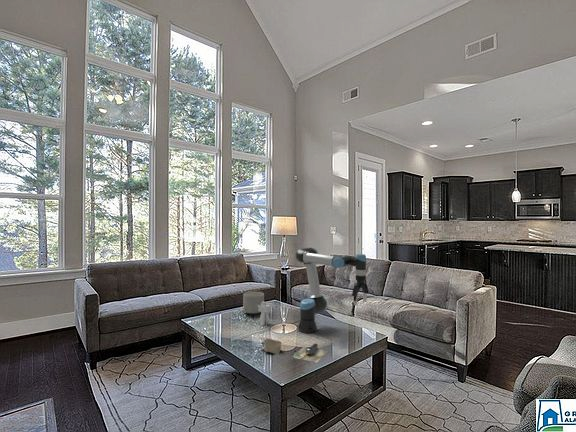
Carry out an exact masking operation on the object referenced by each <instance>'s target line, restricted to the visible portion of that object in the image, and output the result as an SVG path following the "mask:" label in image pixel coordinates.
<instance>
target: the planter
mask: <svg viewBox="0 0 576 432" xmlns="http://www.w3.org/2000/svg"><path fill="white" fill-rule="evenodd" d="M242 295H243V298H242V299H243V301H242V304H243V305H242V306H243V312H244V313H246V314H249V315H251V316H254V315H256V316H257V315H258V314H261V312H260V311H258V309H259V308H258V306H257V305H260V304H261V302H265V293H264V292H262V291H248V292H244V293H243V294H242Z"/></svg>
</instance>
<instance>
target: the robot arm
mask: <svg viewBox="0 0 576 432" xmlns="http://www.w3.org/2000/svg"><path fill="white" fill-rule="evenodd" d="M295 259H296V261H297V262H298V263H302V264H303V265H304V267H305V269H306V275H307V276H306V277H307V281H308V286H309V293H310V295H309V298H305V299H302V300H301V301H300V304H299V307H300V309H299V310H300V311H299V313H300V315H299V317H300V318H299V322H298V325H297V330H298V332H300V333H305V334H312V333H316V332H317V331H318V326H317V323H316V315H317V314H318V315H319V314H320V313H323V312H325V311H326V310H327V307H328V302H327V299H325V297H324V294H322V293H321V288H320V287H321V286H320V282H319V281H320V280H319V276H318V270H317V269H318V268H317V264H319V265H323V266H328V267H329V266H330V267H334V268H337V269H341V268H344V267H349V266H351V267H355V281H356V282H354V284H353V289H352V293H351V296H352V297H353V306H358V294H359V291H360V289H362V292H363V293H362V302H363V303H367V302H368V300H367V299H368V294H369V288H368V283H367V276H366V274H367V256H366V254H363V253H357V254H355V255H348V254H344V255H342V256H335V255H328V254H320V253H319V252H318V250H317V249H316V248H314V247H305V248H298V250H297V251H296V253H295Z"/></svg>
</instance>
